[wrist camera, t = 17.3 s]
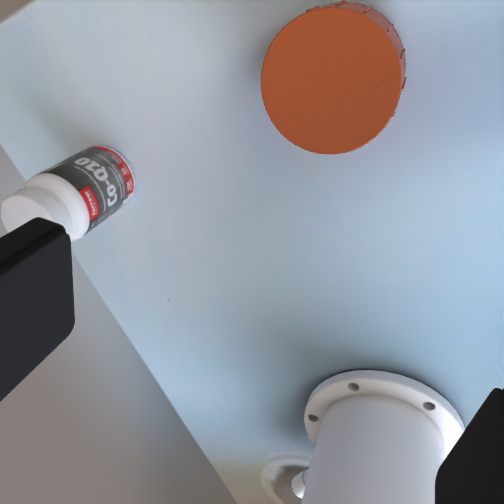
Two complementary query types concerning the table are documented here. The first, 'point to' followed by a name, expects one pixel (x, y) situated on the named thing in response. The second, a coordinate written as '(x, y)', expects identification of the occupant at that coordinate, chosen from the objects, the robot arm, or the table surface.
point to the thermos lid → (333, 77)
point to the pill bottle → (74, 192)
